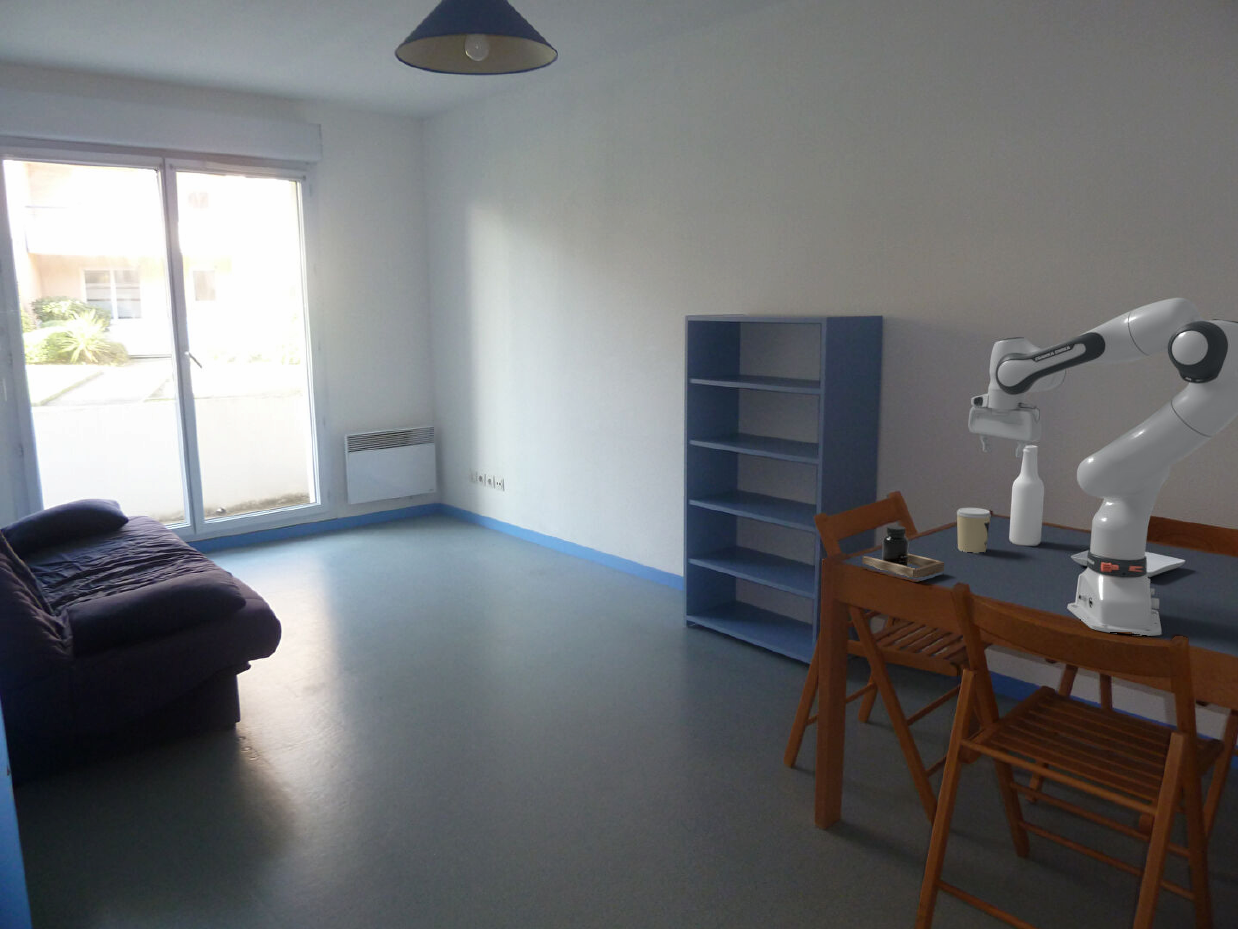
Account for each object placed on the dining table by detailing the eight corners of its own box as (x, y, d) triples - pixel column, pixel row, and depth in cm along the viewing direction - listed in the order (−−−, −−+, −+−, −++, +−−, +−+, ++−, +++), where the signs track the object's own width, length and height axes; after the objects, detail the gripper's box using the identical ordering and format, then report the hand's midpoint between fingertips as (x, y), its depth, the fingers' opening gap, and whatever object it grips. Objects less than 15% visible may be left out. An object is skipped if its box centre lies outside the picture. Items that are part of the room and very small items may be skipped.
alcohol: (1003, 539, 271) (1009, 444, 266) (1031, 538, 271) (1037, 443, 266) (1017, 546, 262) (1024, 448, 257) (1046, 546, 263) (1053, 447, 258)
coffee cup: (992, 554, 254) (994, 514, 252) (958, 553, 256) (960, 513, 254) (984, 546, 263) (986, 507, 261) (951, 545, 265) (953, 507, 263)
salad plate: (1106, 554, 254) (1107, 543, 253) (1186, 571, 237) (1187, 558, 236) (1067, 567, 242) (1068, 555, 241) (1149, 585, 225) (1150, 572, 224)
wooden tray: (943, 574, 235) (944, 562, 235) (916, 583, 228) (916, 570, 227) (889, 561, 249) (890, 549, 248) (862, 569, 241) (862, 556, 241)
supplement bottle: (907, 574, 236) (909, 531, 234) (881, 572, 238) (882, 529, 236) (907, 567, 242) (909, 525, 240) (882, 565, 245) (883, 524, 243)
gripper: (1049, 404, 215) (1045, 459, 217) (983, 396, 233) (979, 447, 235) (1031, 405, 212) (1027, 461, 214) (966, 398, 230) (962, 449, 233)
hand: (1001, 454), depth 225 cm, fingers open, 8 cm apart
